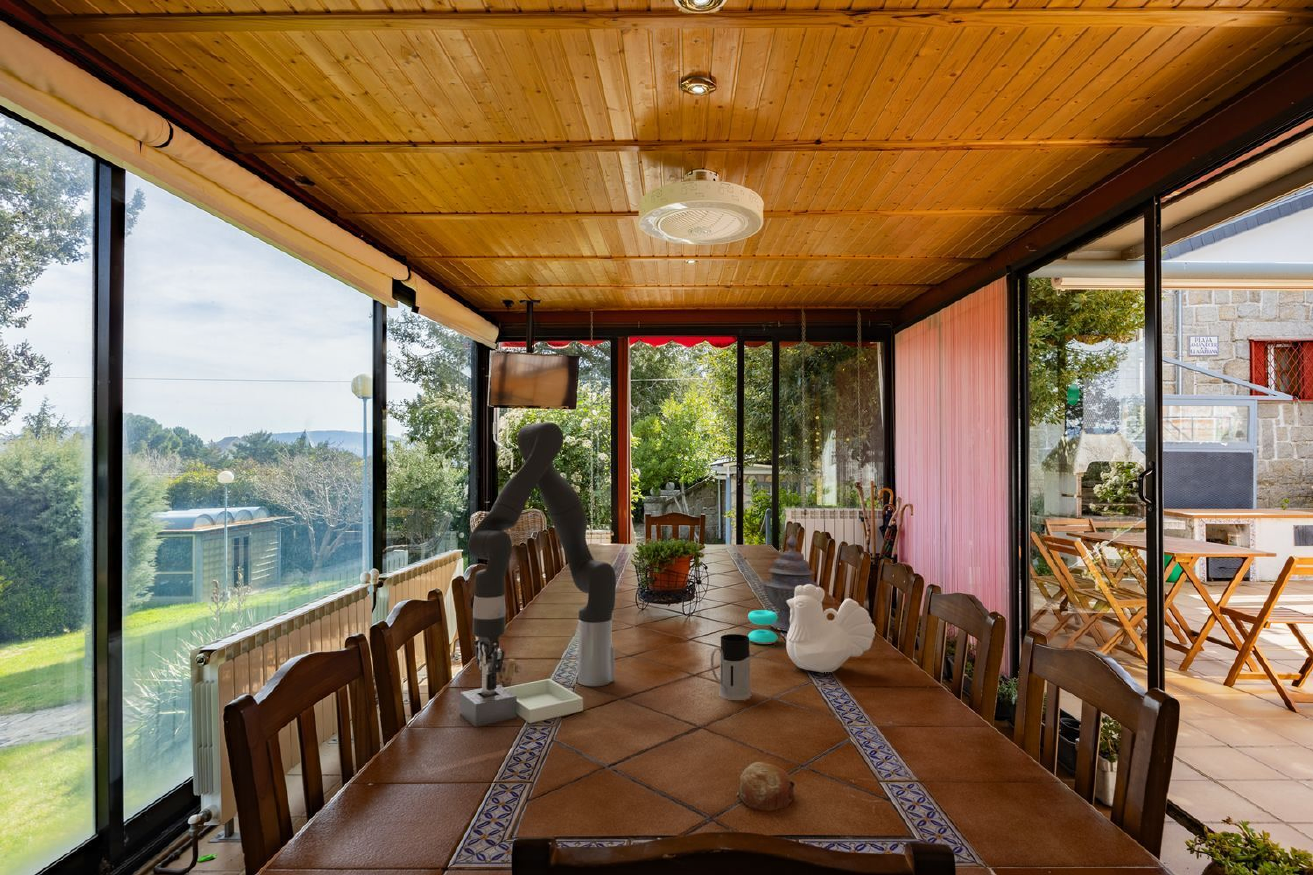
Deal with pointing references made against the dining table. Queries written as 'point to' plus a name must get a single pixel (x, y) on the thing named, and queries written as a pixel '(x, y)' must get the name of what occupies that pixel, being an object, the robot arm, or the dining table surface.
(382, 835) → the dining table surface
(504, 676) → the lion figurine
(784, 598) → the decorative urn
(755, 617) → the donuts
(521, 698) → the tray
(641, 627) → the dining table surface
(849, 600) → the decorative rooster
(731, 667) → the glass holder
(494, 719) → the block
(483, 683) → the steel pin
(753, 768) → the bread roll
